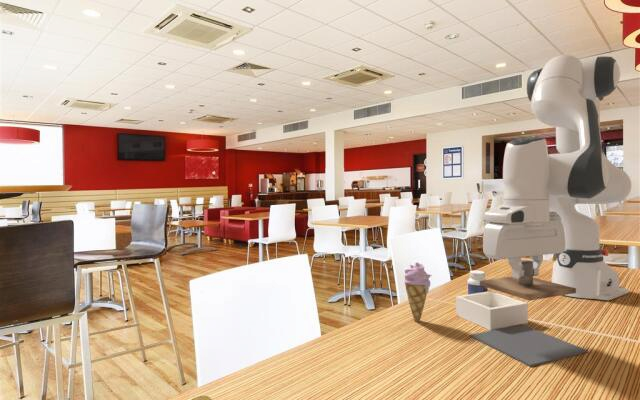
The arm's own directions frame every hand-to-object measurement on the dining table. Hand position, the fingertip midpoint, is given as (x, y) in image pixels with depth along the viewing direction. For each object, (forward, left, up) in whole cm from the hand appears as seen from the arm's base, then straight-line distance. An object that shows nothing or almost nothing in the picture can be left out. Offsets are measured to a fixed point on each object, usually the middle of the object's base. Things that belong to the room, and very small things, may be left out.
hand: (525, 276), depth 83 cm
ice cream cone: (+13, -21, -15) cm, 29 cm away
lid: (0, 0, -3) cm, 3 cm away
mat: (0, 0, -15) cm, 15 cm away
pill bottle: (-10, -25, -15) cm, 31 cm away
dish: (-5, -15, -15) cm, 22 cm away
